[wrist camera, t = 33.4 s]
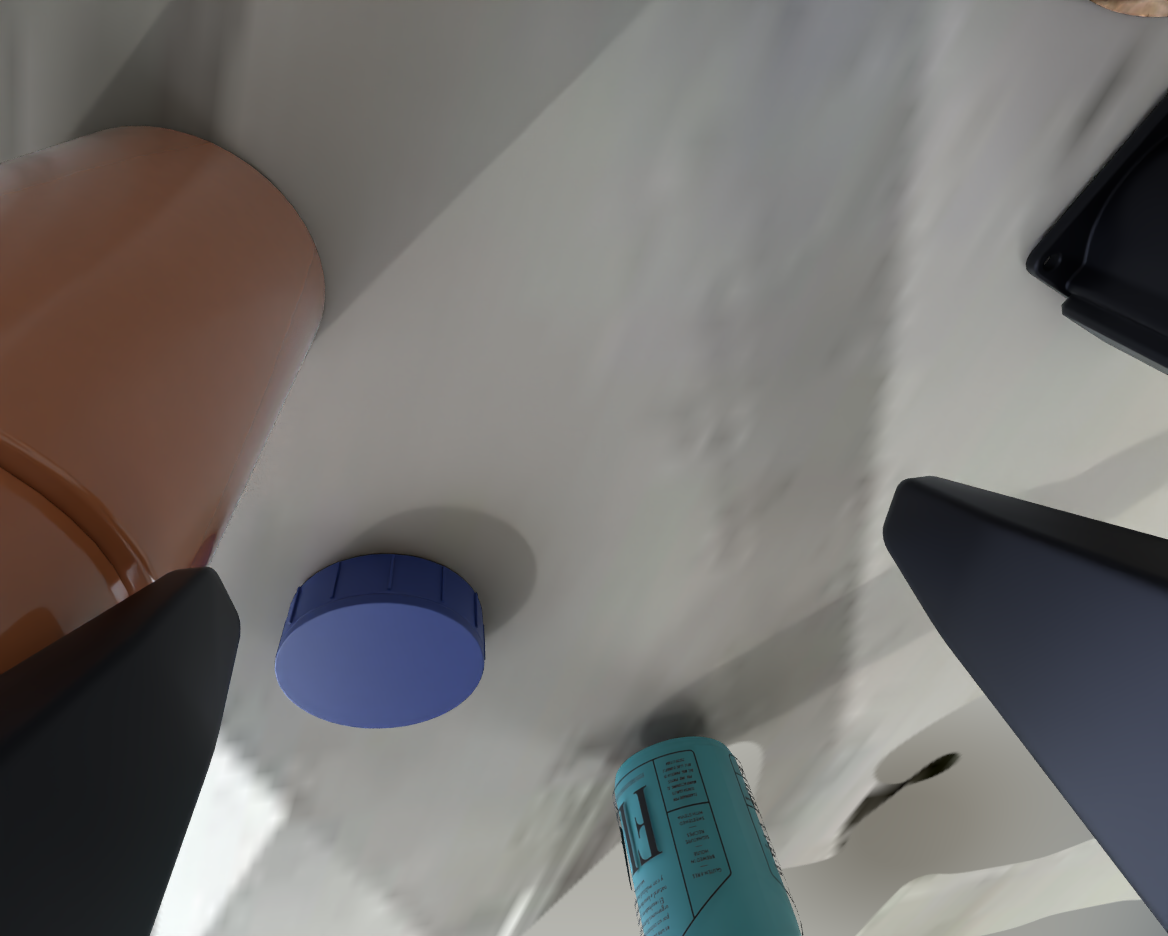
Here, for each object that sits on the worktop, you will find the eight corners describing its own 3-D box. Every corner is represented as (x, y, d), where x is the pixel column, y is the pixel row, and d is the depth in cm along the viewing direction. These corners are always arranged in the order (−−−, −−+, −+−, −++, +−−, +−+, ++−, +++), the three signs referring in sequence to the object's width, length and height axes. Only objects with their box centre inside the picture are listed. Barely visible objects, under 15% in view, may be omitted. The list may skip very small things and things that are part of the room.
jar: (40, 65, 13) (-1666, 279, 3) (356, 205, 15) (130, 608, 5) (26, 333, 16) (-795, 935, 6) (293, 415, 18) (68, 942, 8)
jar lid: (383, 699, 27) (378, 750, 25) (245, 617, 23) (227, 671, 21) (518, 623, 25) (523, 671, 24) (395, 521, 21) (389, 570, 20)
